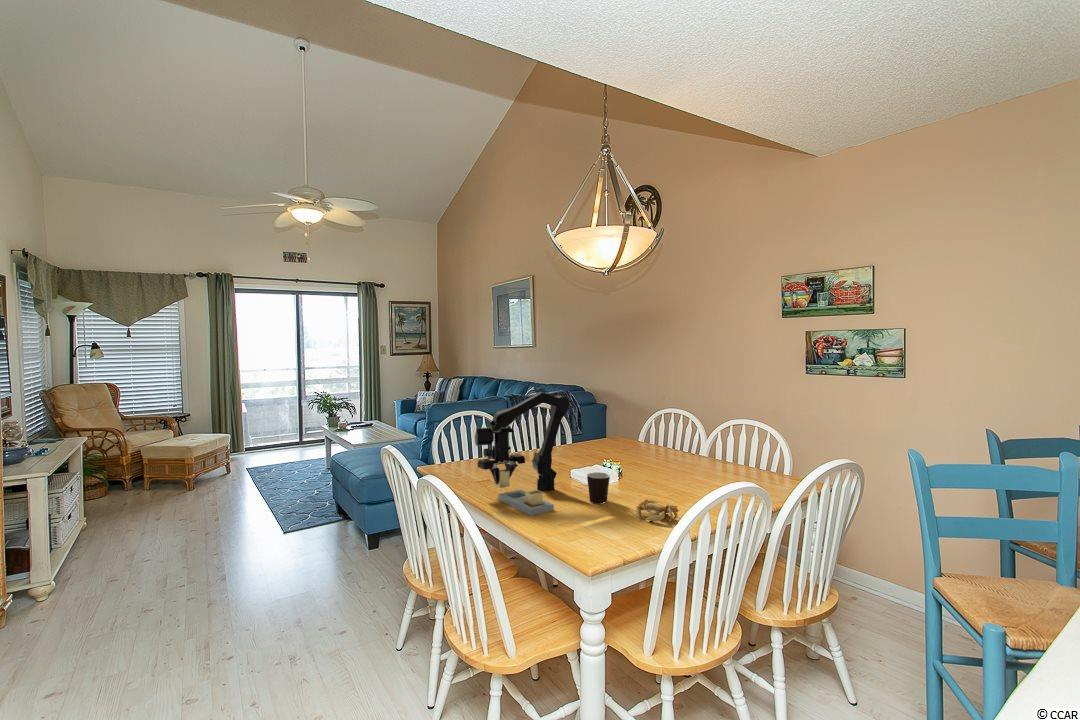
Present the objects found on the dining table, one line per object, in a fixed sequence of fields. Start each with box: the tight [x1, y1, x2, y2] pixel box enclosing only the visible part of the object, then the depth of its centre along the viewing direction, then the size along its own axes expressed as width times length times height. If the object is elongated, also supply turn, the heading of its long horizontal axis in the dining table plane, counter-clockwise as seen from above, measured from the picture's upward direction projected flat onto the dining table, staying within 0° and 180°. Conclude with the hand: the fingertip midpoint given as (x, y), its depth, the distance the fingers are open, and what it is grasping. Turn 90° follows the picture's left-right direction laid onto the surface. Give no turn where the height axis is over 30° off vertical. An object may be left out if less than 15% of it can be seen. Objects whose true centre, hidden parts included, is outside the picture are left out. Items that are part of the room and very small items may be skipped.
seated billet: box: [525, 489, 544, 507], centre depth 180 cm, size 4×4×6 cm
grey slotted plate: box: [497, 489, 555, 517], centre depth 185 cm, size 22×10×3 cm, turn 35°
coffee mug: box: [586, 471, 611, 504], centre depth 190 cm, size 12×9×10 cm
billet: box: [493, 468, 511, 489], centre depth 198 cm, size 4×4×6 cm
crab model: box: [635, 499, 680, 522], centre depth 174 cm, size 16×13×6 cm
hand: (501, 483), depth 199 cm, fingers closed on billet, 4 cm apart
